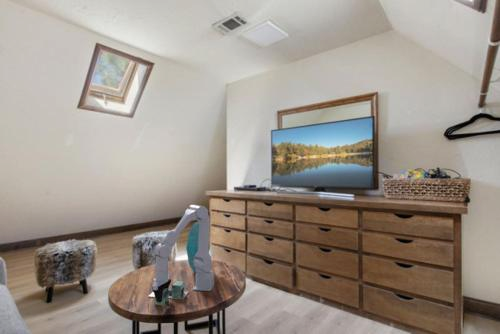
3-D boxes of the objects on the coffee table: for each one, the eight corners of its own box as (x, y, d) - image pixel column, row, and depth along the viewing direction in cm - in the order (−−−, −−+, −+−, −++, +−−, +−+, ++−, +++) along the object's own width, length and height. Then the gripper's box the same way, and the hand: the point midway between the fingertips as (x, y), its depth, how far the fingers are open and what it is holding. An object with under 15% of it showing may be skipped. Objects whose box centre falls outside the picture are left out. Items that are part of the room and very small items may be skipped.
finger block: (168, 300, 125) (168, 288, 125) (164, 305, 120) (164, 293, 120) (159, 299, 125) (159, 287, 125) (154, 304, 120) (154, 292, 120)
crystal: (207, 275, 154) (207, 224, 155) (184, 275, 154) (184, 224, 155) (210, 268, 166) (211, 220, 167) (189, 267, 166) (189, 220, 167)
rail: (188, 292, 132) (188, 280, 132) (183, 299, 125) (183, 286, 125) (154, 290, 134) (155, 279, 134) (148, 297, 127) (148, 284, 127)
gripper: (160, 263, 130) (160, 291, 130) (146, 275, 116) (145, 306, 116) (174, 264, 130) (174, 292, 129) (161, 276, 115) (161, 307, 115)
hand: (161, 298), depth 122 cm, fingers closed on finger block, 5 cm apart
